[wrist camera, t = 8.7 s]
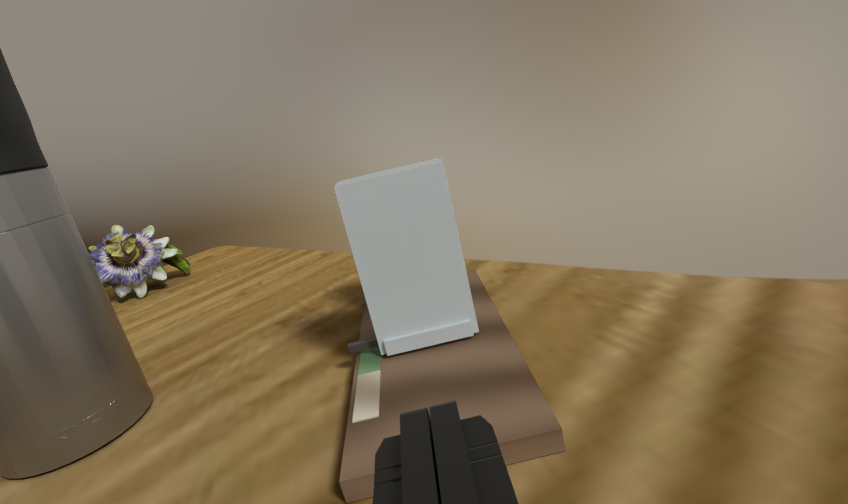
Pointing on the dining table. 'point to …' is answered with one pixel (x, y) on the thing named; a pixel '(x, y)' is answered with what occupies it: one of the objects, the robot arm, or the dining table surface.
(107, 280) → the passion flower
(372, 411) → the board
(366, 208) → the panel
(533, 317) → the dining table surface
